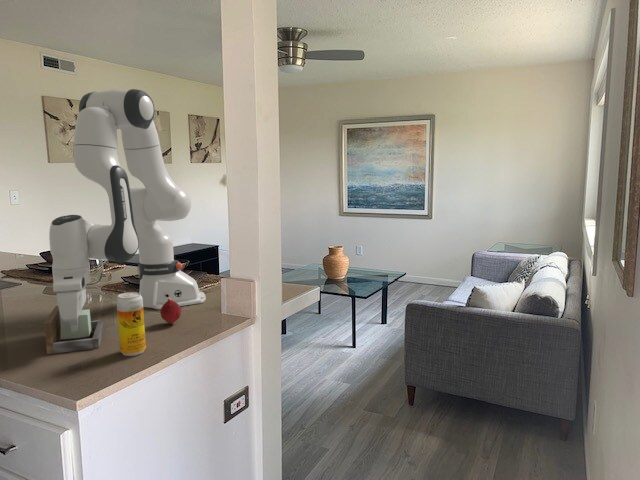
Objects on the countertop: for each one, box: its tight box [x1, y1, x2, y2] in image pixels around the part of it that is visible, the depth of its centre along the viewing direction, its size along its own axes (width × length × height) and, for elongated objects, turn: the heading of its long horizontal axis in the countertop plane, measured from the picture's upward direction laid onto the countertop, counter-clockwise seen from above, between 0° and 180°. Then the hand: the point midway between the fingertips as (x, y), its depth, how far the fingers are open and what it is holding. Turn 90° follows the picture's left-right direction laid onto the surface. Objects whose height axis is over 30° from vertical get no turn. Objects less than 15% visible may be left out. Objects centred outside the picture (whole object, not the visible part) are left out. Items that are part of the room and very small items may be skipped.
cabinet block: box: [60, 309, 92, 340], centre depth 130 cm, size 6×5×8 cm
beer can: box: [116, 291, 147, 357], centre depth 122 cm, size 6×6×15 cm
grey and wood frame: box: [43, 305, 105, 355], centre depth 131 cm, size 12×16×8 cm
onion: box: [160, 298, 182, 325], centre depth 143 cm, size 6×6×8 cm
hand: (76, 327), depth 131 cm, fingers closed on cabinet block, 5 cm apart
